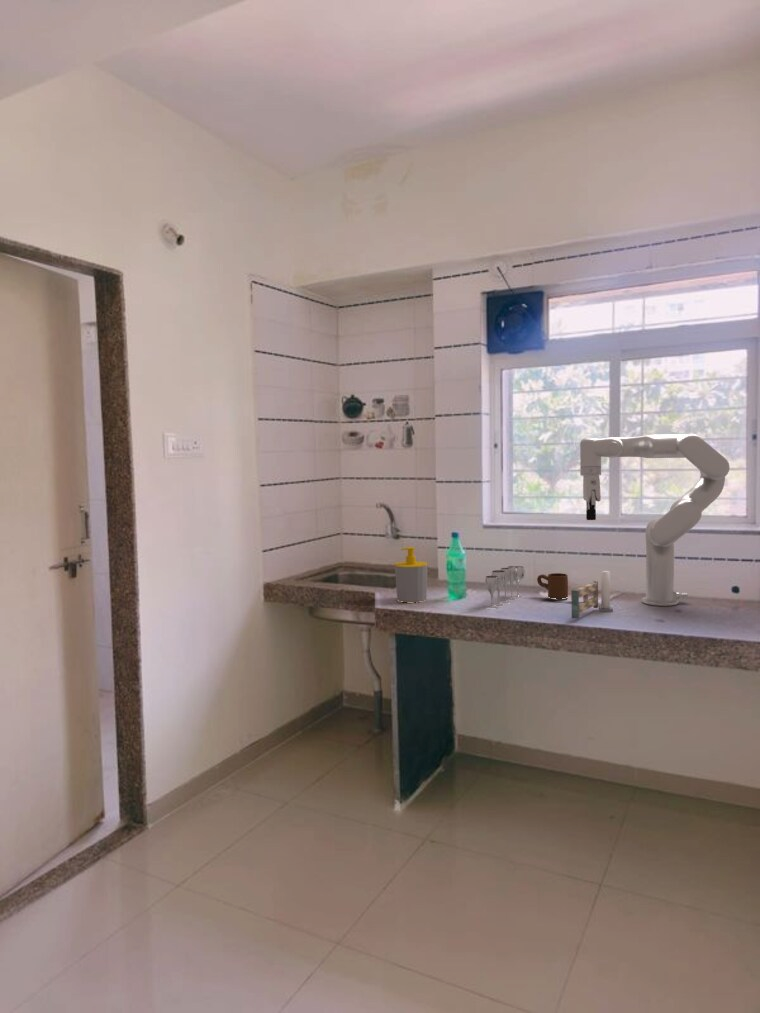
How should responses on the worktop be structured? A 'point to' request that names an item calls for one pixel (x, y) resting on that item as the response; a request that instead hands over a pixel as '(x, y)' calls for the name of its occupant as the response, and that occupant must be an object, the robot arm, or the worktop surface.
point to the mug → (555, 585)
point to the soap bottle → (411, 578)
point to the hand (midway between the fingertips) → (591, 519)
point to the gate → (584, 598)
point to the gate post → (605, 592)
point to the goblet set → (504, 581)
